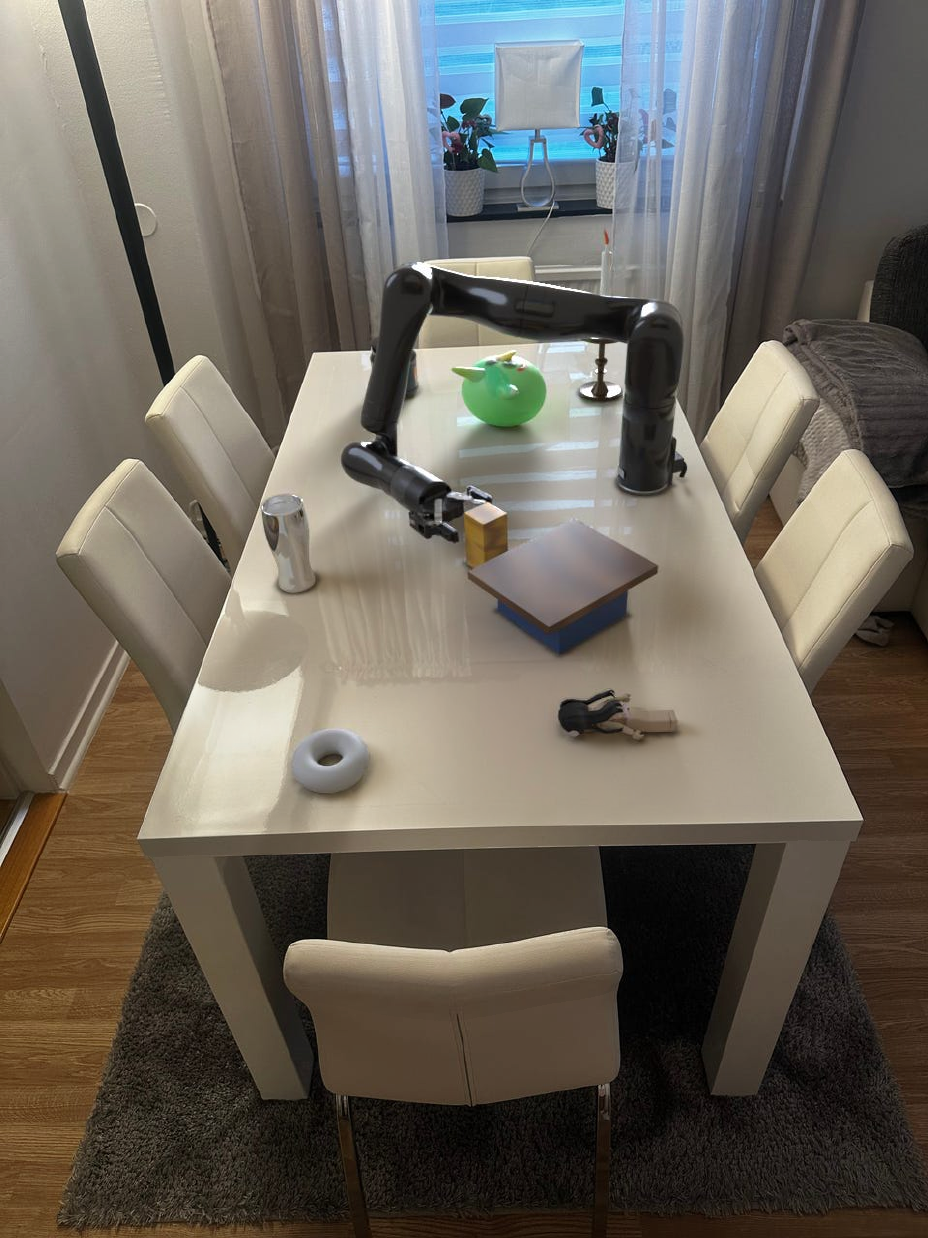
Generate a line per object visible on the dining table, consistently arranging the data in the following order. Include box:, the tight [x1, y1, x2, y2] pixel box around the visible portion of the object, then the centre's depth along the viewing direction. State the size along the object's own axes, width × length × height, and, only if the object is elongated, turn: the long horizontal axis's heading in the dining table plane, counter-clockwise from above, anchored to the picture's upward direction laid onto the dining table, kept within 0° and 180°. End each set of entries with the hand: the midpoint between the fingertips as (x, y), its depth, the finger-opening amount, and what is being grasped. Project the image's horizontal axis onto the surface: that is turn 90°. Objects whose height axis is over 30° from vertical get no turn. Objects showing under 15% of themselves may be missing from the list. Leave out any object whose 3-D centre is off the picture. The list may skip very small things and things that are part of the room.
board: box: [467, 518, 659, 635], centre depth 133 cm, size 22×18×2 cm
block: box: [463, 502, 509, 569], centre depth 146 cm, size 5×5×10 cm
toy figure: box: [557, 687, 678, 740], centre depth 116 cm, size 7×6×15 cm
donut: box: [290, 728, 370, 794], centre depth 114 cm, size 10×4×10 cm
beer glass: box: [260, 493, 316, 594], centre depth 143 cm, size 7×7×15 cm
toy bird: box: [450, 350, 547, 427], centre depth 186 cm, size 18×17×15 cm
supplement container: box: [369, 335, 420, 399], centre depth 202 cm, size 10×10×12 cm
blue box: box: [497, 590, 629, 655], centre depth 136 cm, size 14×14×7 cm
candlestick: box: [579, 228, 621, 403], centre depth 189 cm, size 11×11×35 cm
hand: (477, 528), depth 147 cm, fingers open, 8 cm apart
